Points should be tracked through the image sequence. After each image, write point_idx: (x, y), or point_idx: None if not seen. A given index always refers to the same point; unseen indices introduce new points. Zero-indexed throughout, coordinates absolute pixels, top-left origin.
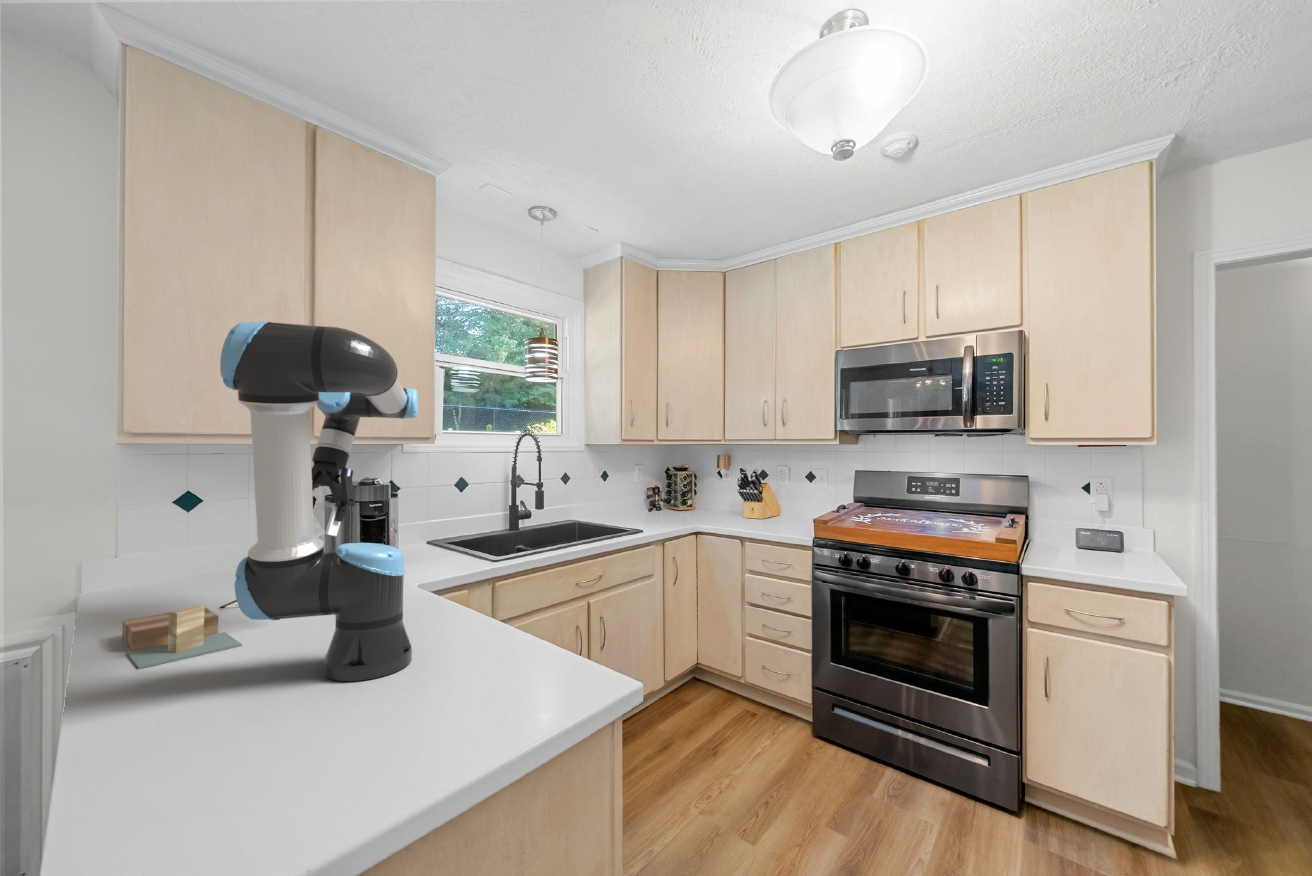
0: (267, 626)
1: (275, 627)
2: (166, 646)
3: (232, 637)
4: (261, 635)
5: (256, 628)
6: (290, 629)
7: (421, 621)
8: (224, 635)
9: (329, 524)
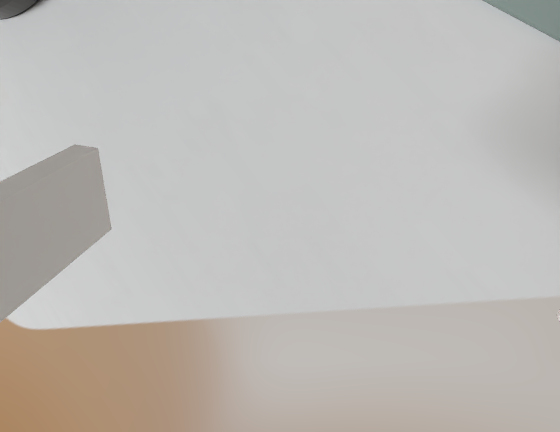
0: (477, 141)
1: (440, 136)
2: None
3: (491, 2)
4: (423, 57)
5: (499, 116)
6: (375, 126)
7: None
8: (538, 13)
9: (22, 176)
